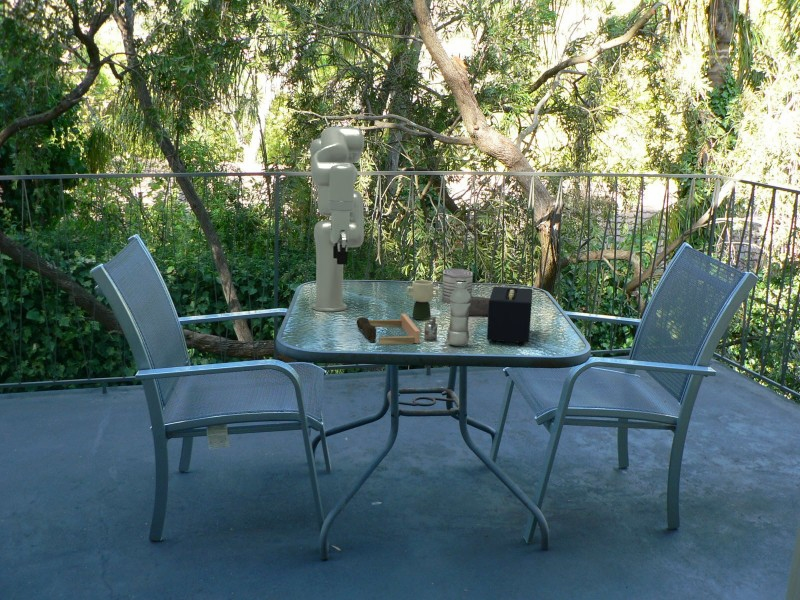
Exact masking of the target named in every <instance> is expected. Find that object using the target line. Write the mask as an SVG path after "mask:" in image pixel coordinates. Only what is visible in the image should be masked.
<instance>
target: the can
mask: <svg viewBox="0 0 800 600" xmlns="http://www.w3.org/2000/svg"><path fill="white" fill-rule="evenodd" d="M473 276H474V273H473V271H470V270H466V269H464V268H454V267H453V268H446V269H443V270H442V287H441V288H442V291H441V293H442V294H441V302H442V304H444V303H447V304H446V305H448V304H450V296H451V294H452V292H453V291H454V290H455V287H454V285H455V281H456V280H464V281H467V288H466V289H467V291H468V292H469V294H470V296H473V294H472V293H473V292H472V290H473Z"/></svg>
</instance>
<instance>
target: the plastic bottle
mask: <svg viewBox="0 0 800 600" xmlns="http://www.w3.org/2000/svg"><path fill="white" fill-rule="evenodd" d="M454 287H455V290H454V291H453V292H452V294H451V296H450V305H449V308H450V317H449V318H450V321H449V325H448V326H449V327H448V331H447V336H446V337H447V342H448V344H449V345H452V346H456V347H459V346H460V347H463V346H466V345H468V343H469V342H470V341H469V340H470V333H469V316H470V315H469V309H470V304H471V296H470V294H469V292H468V291H467V289H466V288H467V281H464V280H456V281H455V285H454Z"/></svg>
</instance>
